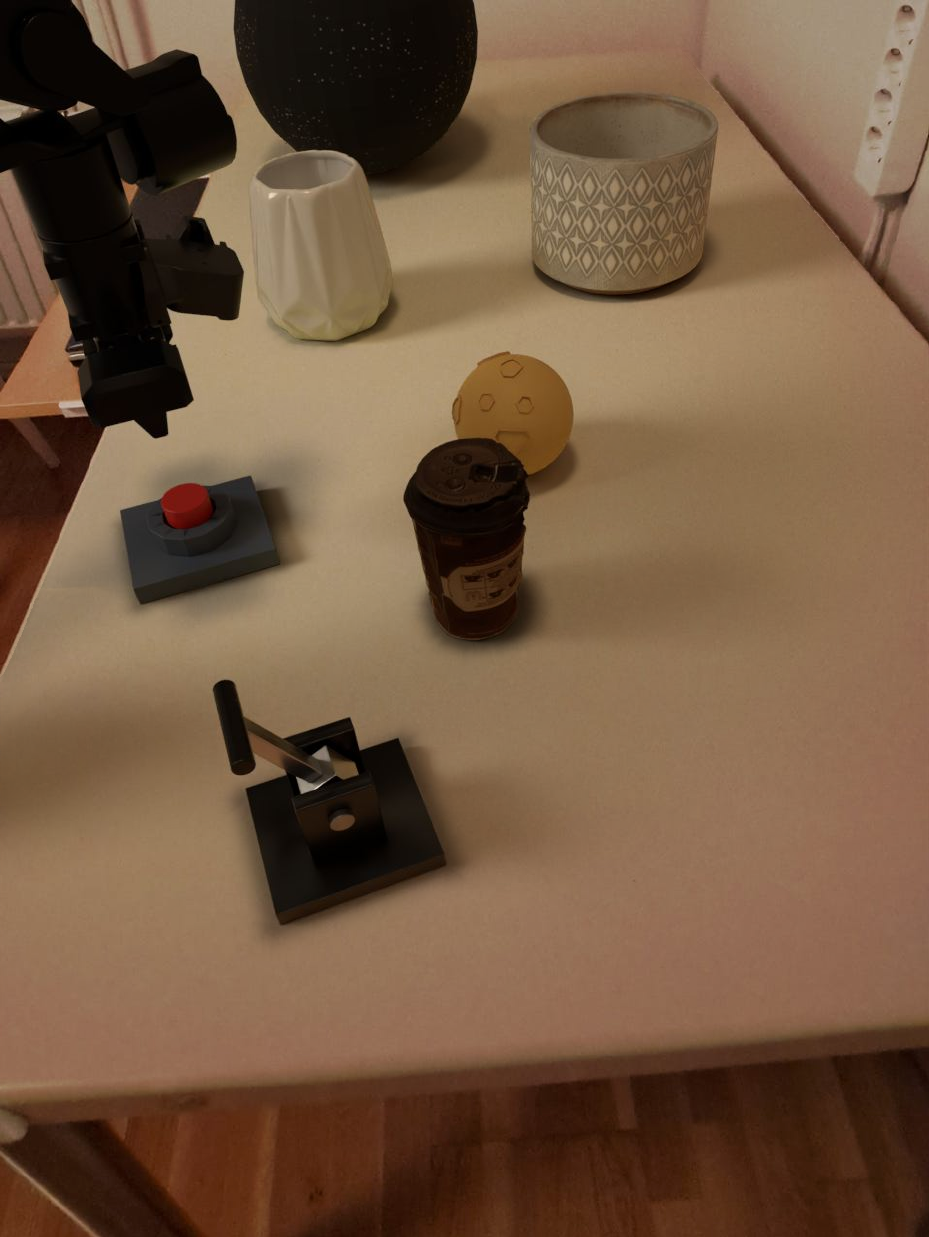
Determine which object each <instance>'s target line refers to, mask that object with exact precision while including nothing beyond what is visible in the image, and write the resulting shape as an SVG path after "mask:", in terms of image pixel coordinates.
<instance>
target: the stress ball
mask: <svg viewBox="0 0 929 1237" xmlns="http://www.w3.org/2000/svg"><path fill="white" fill-rule="evenodd" d="M476 365H477V366H476V368H474V369H473V370H472V371H471V372H470V373H469V374H468V375H467V377H466V378H465V380H464V381H463V382H462V384H461V386H460V388H459V390H458V392H457V394H456V397H455V398H454V400H453V402H452V408H451V418H452V420H453V424H454V432H455V435H456V437H457V438H456V439H465V438H490V439H493V440H494V441H496V442H497V443H501V444H502V445H504V446H505V447H506V448H507V450H508V451H510V452H511V453H512V454H513V455H514V456H515V457H516V458H518V459H519V460H520V461H521V463H522V464H523V465H524V469H525V471H526V472H527V474H528V476H529V475H532V474H535V473H537V472H540V471H542V470H543V469H544V468H546V467H548V466H549V465H550V464H552V463H553V462H554V461H555V460H556V459H557V458H558V457H559V456H560V454H561V453H562V452H563V451H564V448H566V446H567V443H568V441H569V439H570V436H571V434H572V430H573V425H574V405H573V400H572V396H571V393H570V390H569V387H568V386H567V385H566V382H565V381H564V379H563V378H562V376H560V374H559V373H558V372H557V371H556V370H555V369H554V368H552V367H551V366H550V365H549V364H547V363H546V362H544V361H542V360H541V359H538V358H536V357H533V356H530V355H526V354H519V353H511V352H510V351H509V350H507V351H503V352H498V353H495V354H493V355H490V356H488V357H485V358H482V360H479V361H478V362H477V363H476Z"/></svg>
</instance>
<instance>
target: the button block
mask: <svg viewBox="0 0 929 1237" xmlns="http://www.w3.org/2000/svg"><path fill="white" fill-rule="evenodd" d="M201 485H202V486H203V487H204V488H206V490H207V492H208V495H209V498H210V501H211V504H212V507H213V513H212V516H211V517H210V519H209V520H208V521H206V522H205V523H203V524H202V525H200V526H197V527H193V528H190V529H177V528H174V527H172V526H171V525H170V524H169V523H168V521H167V518H166V516H165V513H164V511H163V508H162V505H161V499H162V497H160V498H159V499H156V500H153V501H149V502H145V503H142V504H138V505H135V506H130V507H127V508H123V509H120V510H119V514H120V519H121V526H122V531H123V532H122V533H123V537H124V543H125V548H126V554H127V560H128V567H129V571H130V578H131V584H132V590H133V592H134V594H135V596H136V598H137V600H138V603H139V605H142V604H145V603H149V602H153V601H156V600H161V599H162V598H163V599H164V598H166V597H170V596H173V595H178V594H180V593H184V592H188V591H191V590H194V589H198V588H201V587H205V586H208V585H212V584H215V583H219V582H222V581H227V580H230V579H233V578H236V577H240V576H244V575H246V574H250V573H254V572H258V571H260V570H264V569H268V568H271V567H274V566H278V565H281V562H280V558H279V555H278V554H279V553H278V550H277V547H276V544H275V542H274V538H273V536H272V533H271V529H270V527H269V524H268V521H267V518H266V515H265V513H264V510H263V505H262V503H261V501H260V497H259V494H258V492H257V489H256V485H255V483H254V480H253V477H252V475H251V474H250V475H246V476H243V477H239V478H236V479H232V480H227V481H224V482H221V483H216V484H213V485H203V484H201Z"/></svg>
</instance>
